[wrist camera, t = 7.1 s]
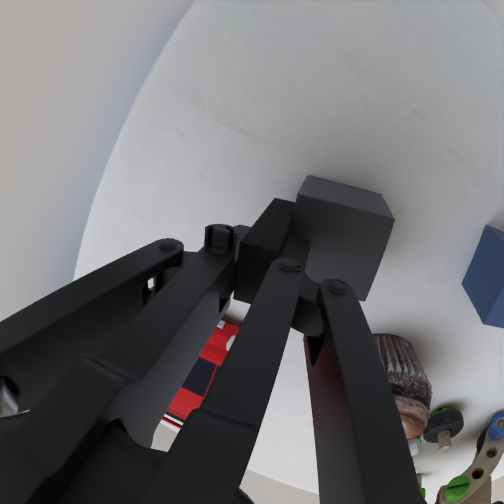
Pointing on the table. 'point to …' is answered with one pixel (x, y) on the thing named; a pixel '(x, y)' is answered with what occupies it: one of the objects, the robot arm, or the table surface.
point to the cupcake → (406, 385)
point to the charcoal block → (342, 232)
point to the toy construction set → (486, 459)
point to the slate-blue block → (487, 278)
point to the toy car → (202, 373)
